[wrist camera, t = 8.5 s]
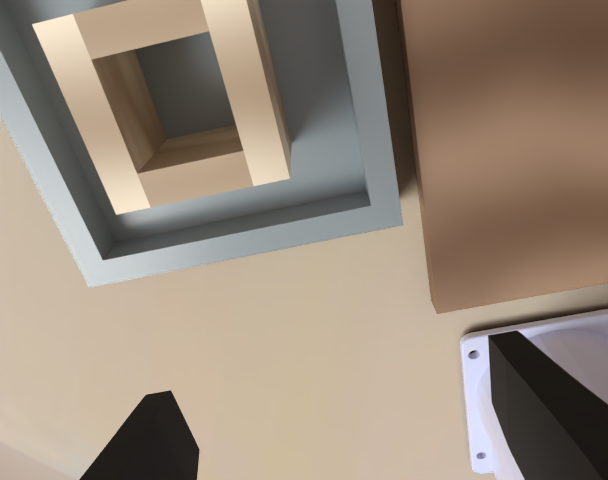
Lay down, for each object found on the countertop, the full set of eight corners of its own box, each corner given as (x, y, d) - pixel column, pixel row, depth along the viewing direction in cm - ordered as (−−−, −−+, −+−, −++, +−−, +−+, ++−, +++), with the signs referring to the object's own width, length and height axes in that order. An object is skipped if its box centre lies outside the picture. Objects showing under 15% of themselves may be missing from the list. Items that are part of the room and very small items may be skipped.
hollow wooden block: (291, 143, 17) (290, 178, 14) (148, 174, 18) (116, 214, 15) (252, -26, 15) (239, -29, 12) (86, 15, 15) (32, 24, 12)
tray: (393, 202, 19) (403, 225, 17) (107, 260, 20) (88, 287, 18) (336, -185, 13) (342, -210, 12) (-54, -73, 15) (-103, -81, 13)
